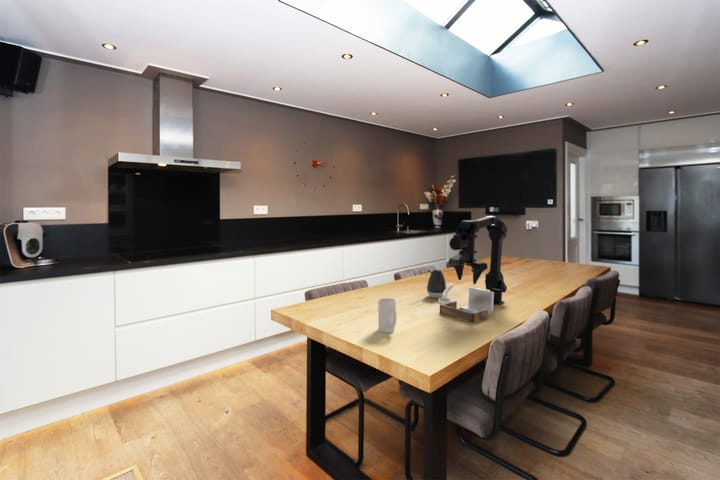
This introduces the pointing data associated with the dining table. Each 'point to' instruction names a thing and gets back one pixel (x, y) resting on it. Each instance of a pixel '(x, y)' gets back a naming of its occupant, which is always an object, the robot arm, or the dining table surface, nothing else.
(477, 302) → the bracket
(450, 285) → the hook
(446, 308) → the bay
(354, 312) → the dining table surface
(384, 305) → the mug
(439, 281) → the pump dispenser
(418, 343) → the dining table surface
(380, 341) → the dining table surface
